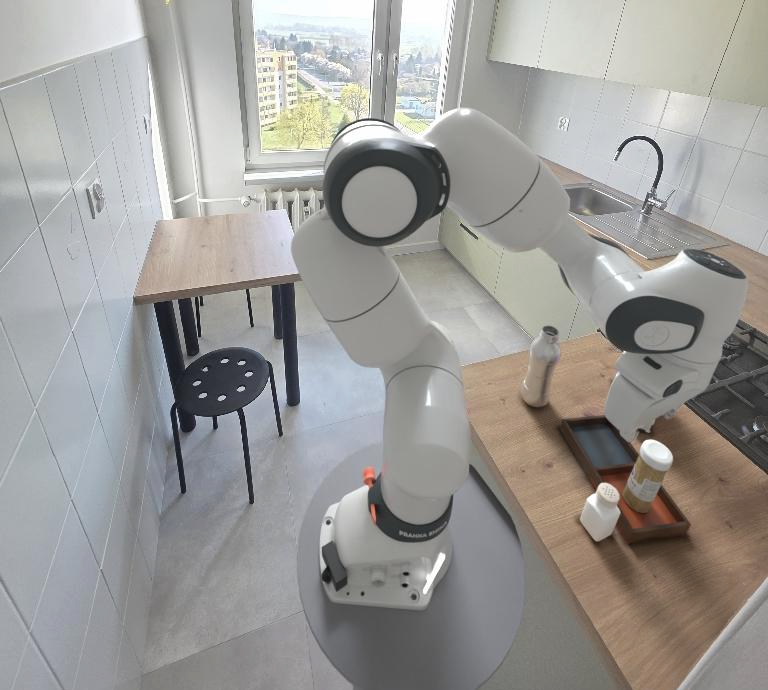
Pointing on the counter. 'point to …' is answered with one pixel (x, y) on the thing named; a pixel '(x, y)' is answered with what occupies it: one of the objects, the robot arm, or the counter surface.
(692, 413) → the counter surface
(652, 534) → the tray
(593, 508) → the pepper shaker
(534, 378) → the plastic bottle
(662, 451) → the sprinkles bottle
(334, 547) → the robot arm
